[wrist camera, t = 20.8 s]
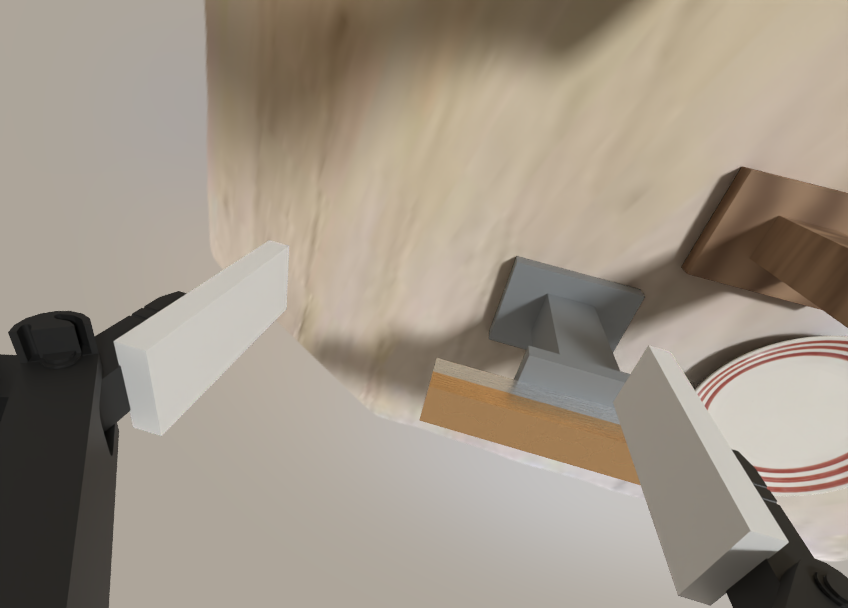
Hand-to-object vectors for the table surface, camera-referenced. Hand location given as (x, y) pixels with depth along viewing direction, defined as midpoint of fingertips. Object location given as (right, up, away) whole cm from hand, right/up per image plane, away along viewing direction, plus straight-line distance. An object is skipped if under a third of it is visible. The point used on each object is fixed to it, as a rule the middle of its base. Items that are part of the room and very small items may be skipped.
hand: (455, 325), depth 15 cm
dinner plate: (+49, -14, +41) cm, 65 cm away
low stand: (+17, 0, +39) cm, 43 cm away
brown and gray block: (+10, -9, +22) cm, 26 cm away
